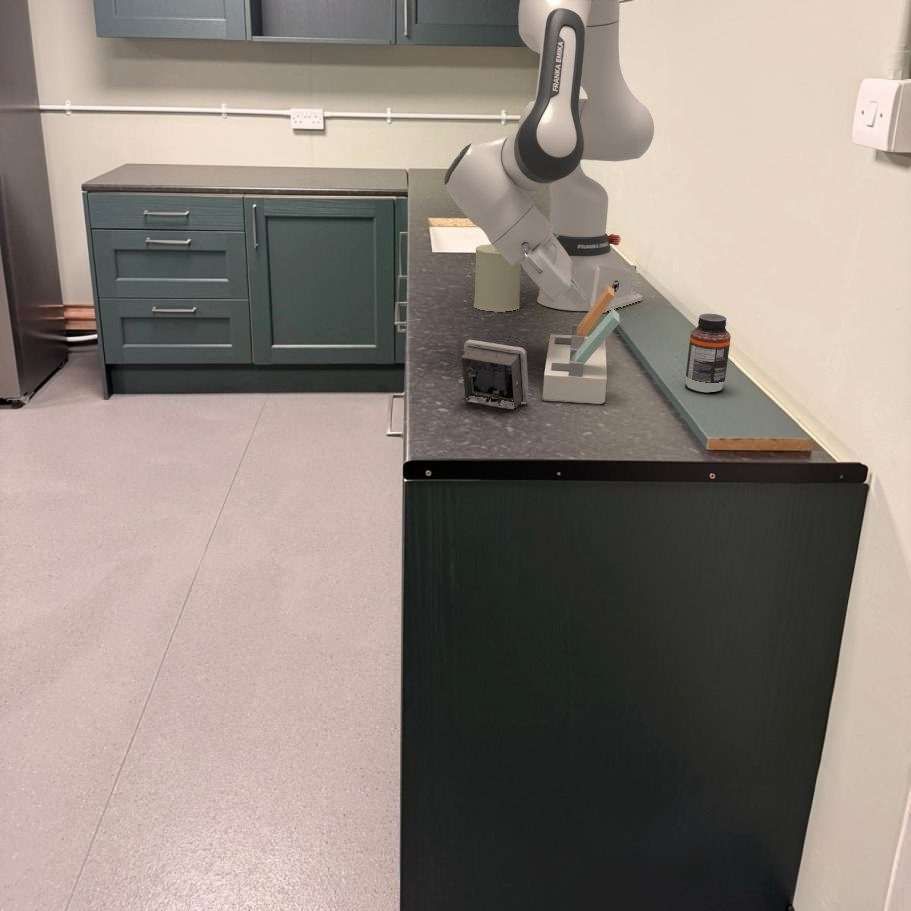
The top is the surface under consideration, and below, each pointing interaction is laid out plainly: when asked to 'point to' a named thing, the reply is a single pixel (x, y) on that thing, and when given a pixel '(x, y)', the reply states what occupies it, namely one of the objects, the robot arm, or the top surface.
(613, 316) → the rocker teal
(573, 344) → the white switch base
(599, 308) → the rocker orange
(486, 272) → the can
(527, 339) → the top surface
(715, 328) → the supplement bottle
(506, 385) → the electrical switch
